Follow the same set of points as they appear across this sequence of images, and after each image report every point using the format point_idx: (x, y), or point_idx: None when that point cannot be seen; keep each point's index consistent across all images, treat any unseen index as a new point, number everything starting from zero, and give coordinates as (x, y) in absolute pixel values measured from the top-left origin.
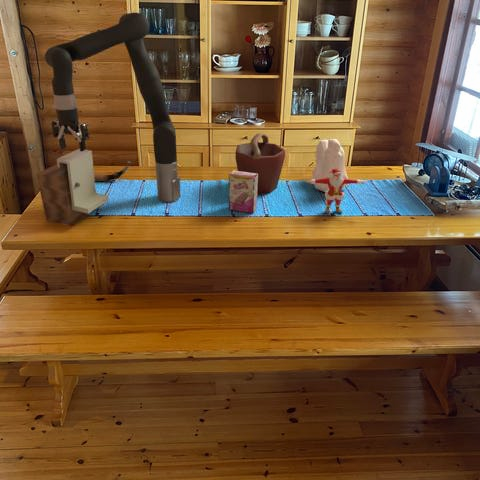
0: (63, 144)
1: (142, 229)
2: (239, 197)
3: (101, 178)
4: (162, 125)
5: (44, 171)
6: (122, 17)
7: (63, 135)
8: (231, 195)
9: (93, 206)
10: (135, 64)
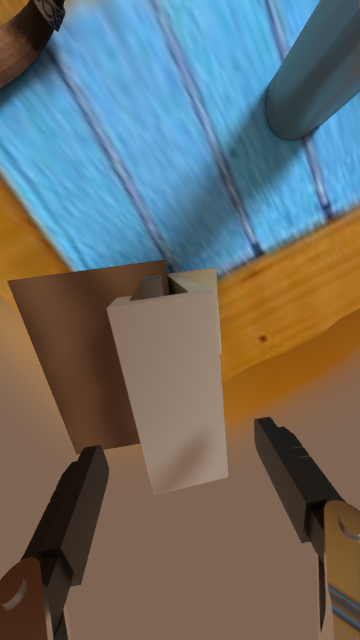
0: (93, 496)
1: (306, 298)
2: None
3: (15, 65)
4: None
5: (79, 430)
6: None
7: (35, 621)
8: None
9: (219, 332)
10: None
